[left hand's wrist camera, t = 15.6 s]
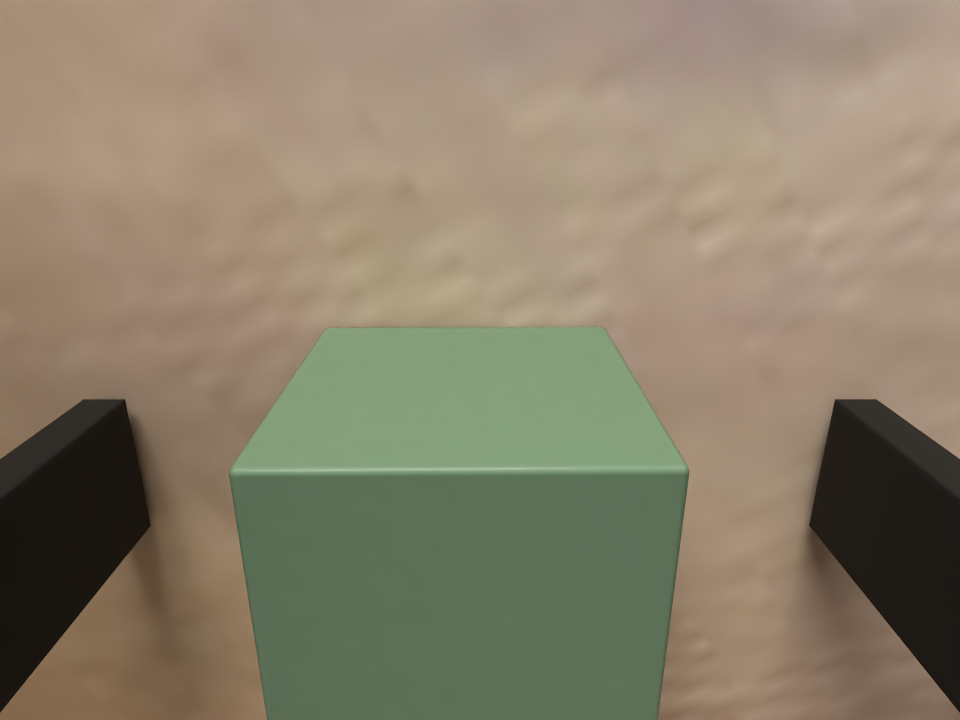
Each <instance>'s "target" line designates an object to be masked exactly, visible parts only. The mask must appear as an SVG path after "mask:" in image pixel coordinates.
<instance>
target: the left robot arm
mask: <svg viewBox="0 0 960 720" xmlns="http://www.w3.org/2000/svg"><path fill="white" fill-rule="evenodd" d="M150 526H151V524H150V519H149V514H148V510H147V505H146V500H145V495H144V490H143V485H142V480H141V475H140V471H139V466H138V461H137V456H136V451H135V446H134V441H133V436H132V431H131V427H130V422H129V417H128V412H127V407H126V402H125V400H82V401H81V402H80V403H78V404H77V405H76V406H74V407H73V408H71V409H70V410H69V411H67V412H66V413H64V414H63V415H62V416H60V417H59V418H57V419H56V420H55V421H53V422H52V423H50V424H49V425H48V426H46V427H45V428H43V429H42V430H41V431H39V432H38V433H36V434H35V435H34V436H32V437H31V438H29V439H28V440H27V441H25V442H24V443H22V444H21V445H20V446H18V447H17V448H15V449H14V450H13V451H11V452H10V453H8V454H7V455H6V456H4V457H3V458H1V459H0V712H1V711H2V710H3V708H4V707H5V706H6V705H7V703H8V702H9V701H10V700H11V699H12V697H13V696H14V695H15V694H16V692H17V691H18V690H19V689H20V687H21V686H22V685H23V684H24V682H25V681H26V680H27V679H28V677H29V676H30V675H31V674H32V672H33V671H34V670H35V669H36V667H37V666H38V665H39V664H40V662H41V661H42V660H43V659H44V658H45V656H46V655H47V654H48V653H49V651H50V650H51V649H52V648H53V646H54V645H55V644H56V643H57V641H58V640H59V639H60V638H61V636H62V635H63V634H64V633H65V631H66V630H67V629H68V628H69V626H70V625H71V624H72V623H73V621H74V620H75V619H76V618H77V616H78V615H79V614H80V613H81V612H82V610H83V609H84V608H85V607H86V605H87V604H88V603H89V602H90V600H91V599H92V598H93V597H94V595H95V594H96V593H97V592H98V590H99V589H100V588H101V587H102V585H103V584H104V583H105V582H106V580H107V579H108V578H109V577H110V575H111V574H112V573H113V572H114V571H115V569H116V568H117V567H118V566H119V564H120V563H121V562H122V561H123V559H124V558H125V557H126V556H127V554H128V553H129V552H130V551H131V549H132V548H133V547H134V546H135V544H136V543H137V542H138V541H139V539H140V538H141V537H142V536H143V534H144V533H145V532H146V531H147V529H148V528H149V527H150ZM809 526H810V527H811V528H812V529H813V531H814V532H815V533H816V534H817V536H818V537H819V538H820V539H821V541H822V542H823V543H824V544H825V545H826V547H827V548H828V549H829V550H830V552H831V553H832V554H833V555H834V557H835V558H836V559H837V560H838V562H839V563H840V564H841V565H842V567H843V568H844V569H845V570H846V572H847V573H848V574H849V575H850V577H851V578H852V579H853V580H854V582H855V583H856V584H857V585H858V587H859V588H860V589H861V590H862V591H863V593H864V594H865V595H866V596H867V598H868V599H869V600H870V601H871V603H872V604H873V605H874V606H875V608H876V609H877V610H878V611H879V613H880V614H881V615H882V616H883V618H884V619H885V620H886V621H887V623H888V624H889V625H890V626H891V628H892V629H893V630H894V631H895V633H896V634H897V635H898V636H899V637H900V639H901V640H902V641H903V642H904V644H905V645H906V646H907V647H908V649H909V650H910V651H911V652H912V654H913V655H914V656H915V657H916V659H917V660H918V661H919V662H920V664H921V665H922V666H923V667H924V669H925V670H926V671H927V672H928V674H929V675H930V676H931V677H932V679H933V680H934V681H935V682H936V684H937V685H938V686H939V687H940V688H941V690H942V691H943V692H944V693H945V695H946V696H947V697H948V698H949V700H950V701H951V702H952V703H953V705H954V706H955V707H956V708H957V710H958V711H959V712H960V459H959V458H957V457H956V456H954V455H953V454H952V453H950V452H949V451H948V450H946V449H945V448H943V447H942V446H941V445H939V444H938V443H936V442H935V441H934V440H932V439H931V438H929V437H928V436H927V435H925V434H924V433H922V432H921V431H920V430H918V429H917V428H915V427H914V426H913V425H911V424H910V423H908V422H907V421H906V420H904V419H903V418H901V417H900V416H899V415H897V414H896V413H894V412H893V411H892V410H890V409H889V408H887V407H886V406H885V405H883V404H882V403H880V402H879V401H878V400H835V403H834V408H833V412H832V417H831V422H830V427H829V432H828V437H827V442H826V447H825V451H824V456H823V461H822V466H821V471H820V476H819V481H818V486H817V490H816V495H815V500H814V505H813V510H812V515H811V520H810V525H809Z"/></svg>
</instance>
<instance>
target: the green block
mask: <svg viewBox="0 0 960 720" xmlns="http://www.w3.org/2000/svg"><path fill="white" fill-rule="evenodd" d="M229 476H230V483H231V489H232V496H233V502H234V508H235V515H236V521H237V528H238V534H239V541H240V547H241V553H242V560H243V566H244V573H245V579H246V586H247V592H248V598H249V605H250V611H251V618H252V624H253V631H254V637H255V643H256V650H257V656H258V663H259V669H260V676H261V682H262V689H263V695H264V701H265V708H266V714H267V720H657V719H658V712H659V704H660V696H661V688H662V680H663V673H664V665H665V657H666V649H667V641H668V634H669V626H670V618H671V610H672V602H673V595H674V587H675V579H676V571H677V563H678V556H679V548H680V540H681V532H682V524H683V517H684V509H685V501H686V493H687V485H688V478H689V468H688V466H687V464H686V462H685V461H684V459H683V457H682V456H681V454H680V452H679V451H678V449H677V447H676V446H675V444H674V442H673V441H672V439H671V437H670V436H669V434H668V432H667V431H666V429H665V427H664V426H663V424H662V422H661V421H660V419H659V417H658V416H657V414H656V412H655V411H654V409H653V407H652V406H651V404H650V402H649V401H648V399H647V397H646V396H645V394H644V392H643V391H642V389H641V387H640V386H639V384H638V382H637V381H636V379H635V377H634V376H633V374H632V372H631V371H630V369H629V367H628V366H627V364H626V362H625V361H624V359H623V357H622V356H621V354H620V353H619V351H618V349H617V348H616V346H615V344H614V343H613V341H612V339H611V338H610V336H609V334H608V333H607V331H606V329H605V328H603V327H436V328H327V329H325V330H324V332H323V333H322V335H321V336H320V338H319V339H318V341H317V342H316V343H315V345H314V346H313V348H312V349H311V351H310V352H309V354H308V355H307V357H306V358H305V360H304V361H303V363H302V364H301V365H300V367H299V368H298V370H297V371H296V373H295V374H294V376H293V377H292V379H291V380H290V382H289V383H288V385H287V386H286V388H285V389H284V390H283V392H282V393H281V395H280V396H279V398H278V399H277V401H276V402H275V404H274V405H273V407H272V408H271V410H270V411H269V413H268V414H267V415H266V417H265V418H264V420H263V421H262V423H261V424H260V426H259V427H258V429H257V430H256V432H255V433H254V435H253V436H252V437H251V439H250V440H249V442H248V443H247V445H246V446H245V448H244V449H243V451H242V452H241V454H240V455H239V457H238V458H237V460H236V461H235V462H234V464H233V465H232V467H231V469H230V472H229Z"/></svg>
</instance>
